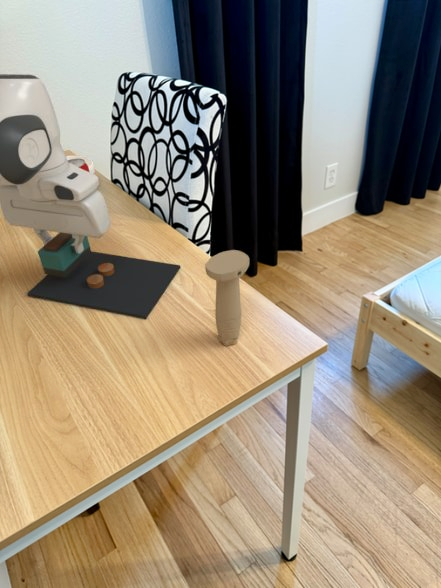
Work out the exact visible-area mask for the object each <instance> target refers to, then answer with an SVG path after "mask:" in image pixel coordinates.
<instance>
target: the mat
mask: <svg viewBox="0 0 441 588" xmlns="http://www.w3.org/2000/svg"><path fill="white" fill-rule="evenodd" d="M104 263H111V264H113V266H114V270H115V272H114V273H113V274H112V275H110V276H106V277H104V276H103V279H104V285H103V286H102V287H100V288H97V289H92V288H89V287H88V283H87V278H88V277H90V276H91V275H95V274H99V272H98V267H99V266H100V265H101V264H104ZM180 269H181V265H179V264H175V263H174V264H173V263H168V262H162V261H155V260H149V259H143V258H135V257H130V256H123V255H117V254H110V253H104V252H97V251H92V250H91V253H90V254H89V255H88V256H87V257H86V258H85V259H84V260H83V261H82V262H81V263H80V264H79V265H78V266H77V267H76V268H75V269H74V270H73V271H72V272H71V273H70V274H69V275H68V276H67V277H66V278H64V277H58V276H52V275H47V274H45V276H44V277H43V278H42V279H41V280H40V281H39V282H37V283H36V284H35V285H34V286H33V287H32V288H31V289H30V290H28V292H27V293H26V295H27V297H32V298H36V299H41V300H45V301H46V300H47V301H52V302H56V303H57V302H58V303H62V304H65V305H66V304H67V305H72V306H77V307H81V308H87V309H94V310H97V311H98V310H99V311H103V312H108V313H113V314H117V315H118V314H119V315H124V316H129V317H134V318H138V319H145V320H147V319H148V317H149V316H150V314H151V313H152V311H153V309H154V308H155V306H157V304H158V302H159V300H160V299H162V298H161V297H162V296H163V295H164V293H165V292H166V290H167V288H168V287H169V286H170V284H171V283H172V281H173V280H174V278H175V277H176V275H177V273H178V272H179V271H180Z"/></svg>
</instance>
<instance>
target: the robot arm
mask: <svg viewBox="0 0 441 588" xmlns="http://www.w3.org/2000/svg"><path fill="white" fill-rule="evenodd" d="M60 129H61V128H60V125H59V122H58V118H57V115H56V111H55V107H54V105H53V103H52V99H51V97H50V94H49V92H48V90H47V87H46V85H45V84H44V82H43V80H42V79H41V78H40V77H37V76H36V75H33V74H22V73H21V74H20V73H19V74H14V73H13V74H10V73H9V74H8V73H7V74H6V73H5V74H3V73H0V209H1V212H2V216H3V219H4V220H5V221H6V223H8V224H9V225H10V226H14V227H21V228H28V229H32V230H33V233H34V234H35V235H36V237H38V238H39V239H40V240H41V241H42V243H43V246H44V245H46V244H47V243H48V242H49V241H50V240H52V239H53V238H54V237H55V236H52V235H51V234H50V233H49V232H55V233H60V232H61V233H67V234H72V238H74V239H75V238H76V239H75V241H74V242H73V243H72V244H71V245H70V246H71V249H72V252H73V253H79V254H80V253H81V252H82V251H83V250H84V247H83V243H82V242H83V239H84V237H85V236H87V237H89V238H94V239H101V238H102V237H103V236H104V235H105V234H107V232H108V231H109V230H110V229H111V225H112V222H111V217H110V214H109V213H110V212H109V208H108V205H107V202H106V199H105V197H104V195H103V194H102V193H101V191H100V190H98V187H100V180H99V179H100V178H99V177H98V176H97V175H96V174H95V173H94V174H92V173H90V172H87V171H85V170H83V169H81V168H79V167H77V166H75V165H73V164H71V163H69V162H68V161H67V157H66V156H67V154H66V152H65V151H64V149H63V147H62V143H61V130H60Z"/></svg>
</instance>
